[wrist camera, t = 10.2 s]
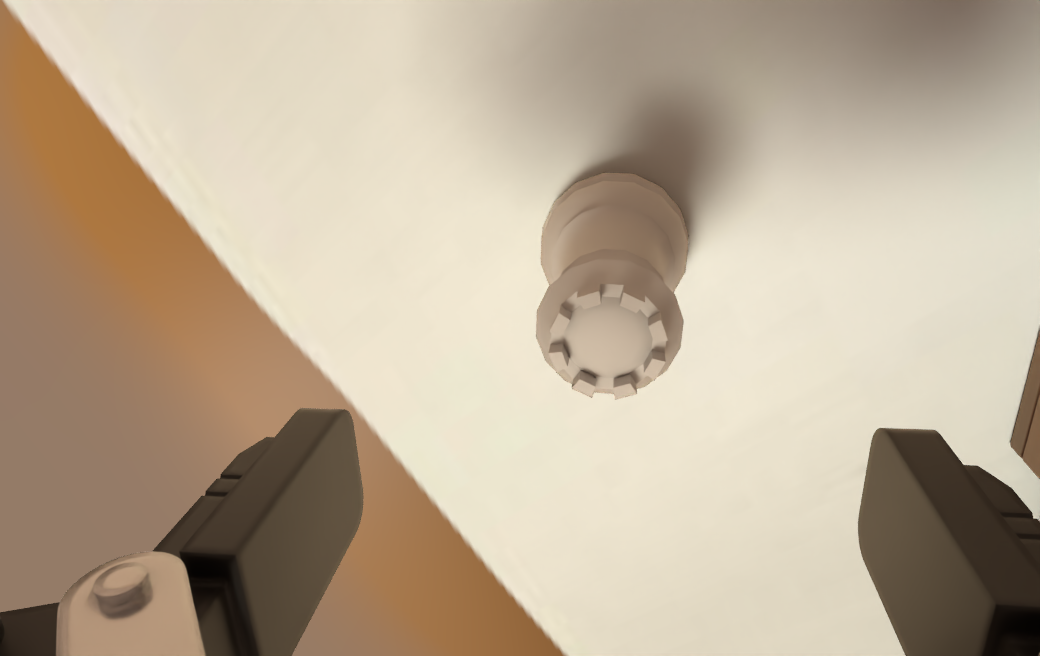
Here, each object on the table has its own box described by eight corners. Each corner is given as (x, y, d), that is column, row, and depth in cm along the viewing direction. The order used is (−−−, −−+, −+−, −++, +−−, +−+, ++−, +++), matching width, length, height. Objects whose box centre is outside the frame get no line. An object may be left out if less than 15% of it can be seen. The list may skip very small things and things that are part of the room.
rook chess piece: (694, 299, 23) (723, 429, 16) (554, 315, 24) (522, 446, 17) (680, 157, 21) (707, 230, 14) (531, 180, 22) (484, 259, 15)
